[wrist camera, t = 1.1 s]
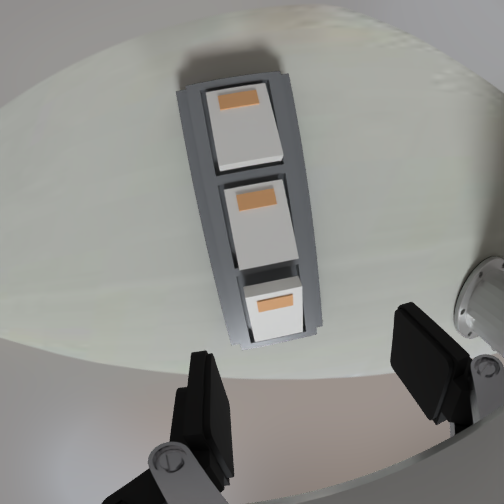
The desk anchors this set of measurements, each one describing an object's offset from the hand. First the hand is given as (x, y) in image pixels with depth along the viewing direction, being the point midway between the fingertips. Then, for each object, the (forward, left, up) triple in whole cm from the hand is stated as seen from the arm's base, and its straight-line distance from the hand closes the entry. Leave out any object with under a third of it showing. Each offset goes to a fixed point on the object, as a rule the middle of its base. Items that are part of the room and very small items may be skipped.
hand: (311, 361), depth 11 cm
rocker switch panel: (+2, -1, -18) cm, 18 cm away
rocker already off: (-5, +3, -13) cm, 14 cm away
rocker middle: (+2, -1, -13) cm, 13 cm away
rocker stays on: (+8, -5, -13) cm, 16 cm away
